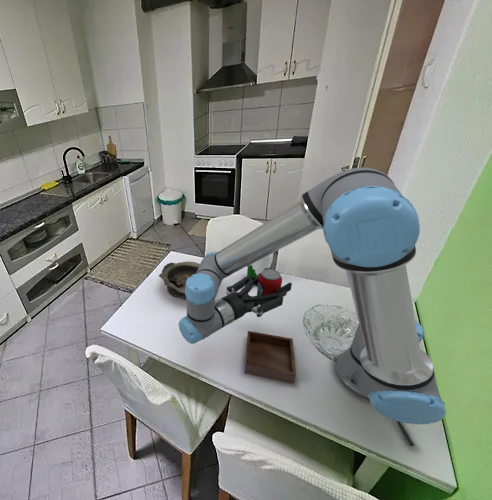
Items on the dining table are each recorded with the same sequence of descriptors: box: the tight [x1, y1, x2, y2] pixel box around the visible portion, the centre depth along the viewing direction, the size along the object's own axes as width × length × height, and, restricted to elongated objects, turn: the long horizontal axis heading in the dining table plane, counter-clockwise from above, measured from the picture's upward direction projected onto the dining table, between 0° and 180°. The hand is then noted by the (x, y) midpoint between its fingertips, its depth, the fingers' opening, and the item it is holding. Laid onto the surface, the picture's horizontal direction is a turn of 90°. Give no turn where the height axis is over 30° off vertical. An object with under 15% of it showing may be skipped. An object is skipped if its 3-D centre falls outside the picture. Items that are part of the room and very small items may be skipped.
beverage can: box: [256, 268, 283, 297], centre depth 89 cm, size 7×7×12 cm
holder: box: [244, 330, 297, 385], centre depth 87 cm, size 14×14×4 cm
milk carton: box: [246, 252, 274, 278], centre depth 117 cm, size 9×9×20 cm
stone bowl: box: [158, 261, 201, 299], centre depth 121 cm, size 25×25×9 cm
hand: (279, 280), depth 90 cm, fingers closed on beverage can, 7 cm apart
